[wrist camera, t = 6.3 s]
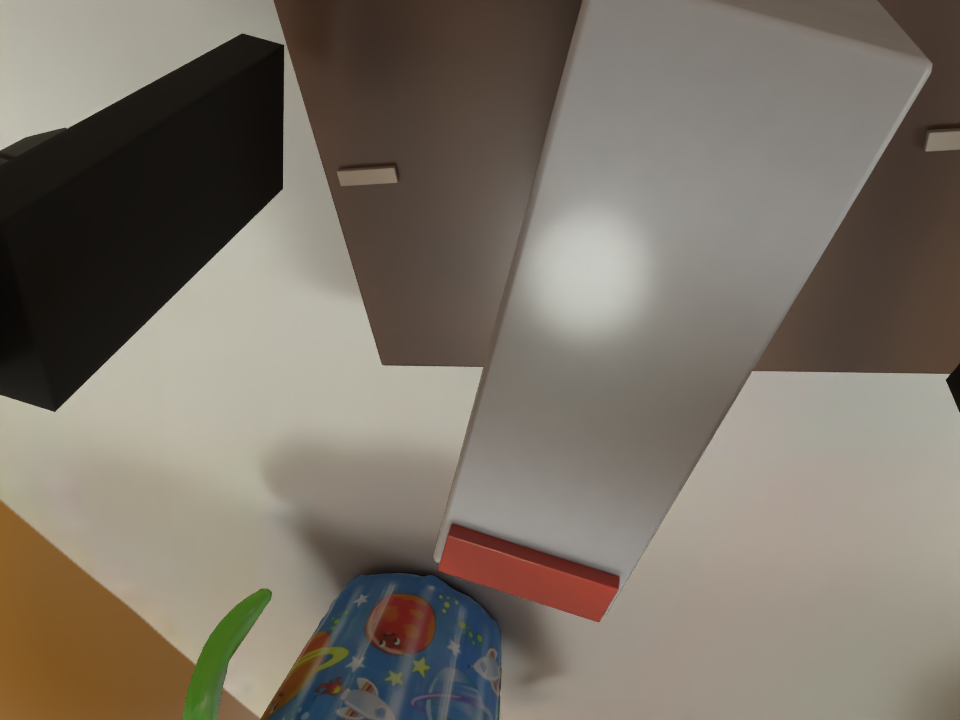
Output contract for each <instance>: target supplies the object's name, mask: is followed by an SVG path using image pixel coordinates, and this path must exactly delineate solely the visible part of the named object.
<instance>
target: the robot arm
mask: <svg viewBox="0 0 960 720" xmlns="http://www.w3.org/2000/svg"><path fill="white" fill-rule="evenodd" d="M283 111H284V45H282V44H278V43H275V42H271V41H268V40H264V39H260V38H257V37H253V36H250V35H246V34H240V35H239V36H237V37H235V38H233V39H231V40H229V41H228V42H226V43H224V44H222V45H220V46H218V47H217V48H215V49H213V50H211V51H209V52H207V53H206V54H204V55H202V56H200V57H198V58H196V59H195V60H193V61H191V62H189V63H187V64H185V65H184V66H182V67H180V68H178V69H176V70H174V71H173V72H171V73H169V74H167V75H165V76H163V77H161V78H160V79H158V80H156V81H154V82H152V83H150V84H149V85H147V86H145V87H143V88H141V89H139V90H138V91H136V92H134V93H132V94H130V95H128V96H127V97H125V98H123V99H121V100H119V101H117V102H116V103H114V104H112V105H110V106H108V107H106V108H105V109H103V110H101V111H99V112H97V113H95V114H94V115H92V116H90V117H88V118H86V119H84V120H83V121H81V122H79V123H77V124H75V125H73V126H72V127H70V128H68V129H67V128H62V129H58V130H54V131H50V132H46V133H41V134H37V135H33V136H29V137H26V138H24V139H22V140H20V141H18V142H16V143H14V144H12V145H10V146H8V147H7V148H5V149H3V150H1V151H0V395H3V396H6V397H9V398H12V399H16V400H19V401H22V402H25V403H28V404H32V405H35V406H38V407H41V408H45V409H48V410H51V411H54V412H55V411H56V410H57V409H58V408H59V407H60V406H61V405H62V404H63V403H64V402H65V401H67V400H68V399H69V398H70V397H71V396H72V395H73V394H74V393H75V392H76V391H77V390H78V389H79V388H80V387H81V386H82V385H83V384H84V383H85V382H86V381H87V380H88V379H89V378H90V377H91V376H92V375H93V374H94V373H95V372H96V371H97V370H98V369H99V368H100V367H101V366H102V365H103V364H104V363H105V362H106V361H107V360H108V359H109V358H110V357H111V356H112V355H113V354H115V353H116V352H117V351H118V350H119V349H120V348H121V347H122V346H123V345H124V344H125V343H126V342H127V341H128V340H129V339H130V338H131V337H132V336H133V335H134V334H135V333H136V332H137V331H138V330H139V329H140V328H141V327H142V326H143V325H144V324H145V323H146V322H147V321H148V320H149V319H150V318H151V317H152V316H153V315H154V314H155V313H156V312H157V311H158V310H159V309H160V308H162V307H163V306H164V305H165V304H166V303H167V302H168V301H169V300H170V299H171V298H172V297H173V296H174V295H175V294H176V293H177V292H178V291H179V290H180V289H181V288H182V287H183V286H184V285H185V284H186V283H187V282H188V281H189V280H190V279H191V278H192V277H193V276H194V275H195V274H196V273H197V272H198V271H199V270H200V269H201V268H202V267H203V266H204V265H205V264H206V263H207V262H209V261H210V260H211V259H212V258H213V257H214V256H215V255H216V254H217V253H218V252H219V251H220V250H221V249H222V248H223V247H224V246H225V245H226V244H227V243H228V242H229V241H230V240H231V239H232V238H233V237H234V236H235V235H236V234H237V233H238V232H239V231H240V230H241V229H242V228H243V227H244V226H245V225H246V224H247V223H248V222H249V221H250V220H251V219H252V218H253V217H254V216H255V215H257V214H258V213H259V212H260V211H261V210H262V209H263V208H264V207H265V206H266V205H267V204H268V203H269V202H270V201H271V200H272V199H273V198H274V197H275V196H276V195H277V194H278V193H279V192H280V191H281V190H282V189H283ZM946 381H947V384H948V386H949V388H950V391H951V393H952V395H953V398H954V400H955V402H956V405H957V407H958V409H959V412H960V363H959V365H958V366H957V367H956V368H955V369H954V371H953V372H952V373H951V374H950V375H949V377H948V378H947V379H946Z"/></svg>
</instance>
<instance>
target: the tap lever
mask: <svg viewBox="0 0 960 720" xmlns="http://www.w3.org/2000/svg"><path fill="white" fill-rule="evenodd" d="M932 65H933V64H932V63H931V61H930V60H929V59H928V58H927V57H926V56H925V55H924V53H923V52H922V51H921V50H920V49H919V48H918V47H917V45H916V44H915V43H914V42H913V41H912V40H911V39H910V37H909V36H908V35H907V34H906V33H905V32H904V30H903V29H902V28H901V27H900V26H899V25H898V24H897V22H896V21H895V20H894V19H893V18H892V17H891V16H890V14H889V13H888V12H887V11H886V10H885V9H884V8H883V6H882V5H881V4H880V3H879V2H878V1H877V0H582V3H581V7H580V11H579V14H578V18H577V22H576V26H575V29H574V33H573V37H572V40H571V44H570V48H569V52H568V55H567V59H566V63H565V66H564V70H563V74H562V78H561V81H560V85H559V89H558V92H557V96H556V100H555V104H554V107H553V111H552V115H551V118H550V122H549V126H548V130H547V133H546V137H545V141H544V145H543V148H542V152H541V156H540V159H539V163H538V167H537V171H536V174H535V178H534V182H533V185H532V189H531V193H530V197H529V200H528V204H527V208H526V211H525V215H524V219H523V223H522V226H521V230H520V234H519V237H518V241H517V245H516V249H515V252H514V256H513V260H512V264H511V267H510V271H509V275H508V278H507V282H506V286H505V290H504V293H503V297H502V301H501V304H500V308H499V312H498V316H497V319H496V323H495V327H494V330H493V334H492V338H491V342H490V345H489V349H488V353H487V356H486V360H485V364H484V368H483V371H482V375H481V379H480V383H479V386H478V390H477V394H476V397H475V401H474V405H473V409H472V412H471V416H470V420H469V423H468V427H467V431H466V435H465V438H464V442H463V446H462V449H461V453H460V457H459V461H458V464H457V468H456V472H455V476H454V479H453V483H452V487H451V490H450V494H449V498H448V502H447V505H446V509H445V513H444V516H443V520H442V524H441V528H440V531H439V535H438V539H437V542H436V546H435V550H434V554H433V558H434V561H435V562H437V563H440V564H439V567H438V571H441V572H444V573H447V574H450V575H453V576H456V577H459V578H462V579H465V580H469V581H472V582H475V583H478V584H481V585H484V586H487V587H490V588H493V589H497V590H500V591H503V592H506V593H509V594H512V595H515V596H518V597H521V598H525V599H528V600H531V601H534V602H537V603H540V604H543V605H546V606H550V607H553V608H556V609H559V610H562V611H565V612H568V613H571V614H574V615H578V616H581V617H584V618H587V619H590V620H593V621H596V622H600V620H601V618H602V617H603V615H606V614H607V612H608V611H609V609H610V608H611V606H612V604H613V603H614V601H615V599H616V598H617V596H618V594H619V593H620V591H621V589H622V588H623V586H624V584H625V583H626V581H627V579H628V578H629V576H630V574H631V573H632V571H633V569H634V568H635V566H636V564H637V563H638V561H639V559H640V558H641V556H642V554H643V553H644V551H645V549H646V548H647V546H648V544H649V543H650V541H651V539H652V538H653V536H654V534H655V533H656V531H657V529H658V528H659V526H660V524H661V523H662V521H663V519H664V518H665V516H666V514H667V512H668V511H669V509H670V507H671V506H672V504H673V502H674V501H675V499H676V497H677V496H678V494H679V492H680V491H681V489H682V487H683V486H684V484H685V482H686V481H687V479H688V477H689V476H690V474H691V472H692V471H693V469H694V467H695V466H696V464H697V462H698V461H699V459H700V457H701V456H702V454H703V452H704V451H705V449H706V447H707V446H708V444H709V442H710V441H711V439H712V437H713V436H714V434H715V432H716V431H717V429H718V427H719V426H720V424H721V422H722V421H723V419H724V417H725V416H726V414H727V412H728V411H729V409H730V407H731V406H732V404H733V402H734V401H735V399H736V397H737V396H738V394H739V392H740V391H741V389H742V387H743V386H744V384H745V382H746V381H747V379H748V377H749V376H750V374H751V372H752V371H753V369H754V367H755V366H756V364H757V362H758V361H759V359H760V357H761V356H762V354H763V352H764V351H765V349H766V347H767V346H768V344H769V342H770V341H771V339H772V337H773V336H774V334H775V332H776V331H777V329H778V327H779V326H780V324H781V322H782V321H783V319H784V317H785V316H786V314H787V312H788V311H789V309H790V307H791V306H792V304H793V302H794V301H795V299H796V297H797V296H798V294H799V292H800V291H801V289H802V287H803V286H804V284H805V282H806V281H807V279H808V277H809V276H810V274H811V272H812V271H813V269H814V267H815V266H816V264H817V262H818V261H819V259H820V257H821V256H822V254H823V252H824V251H825V249H826V247H827V246H828V244H829V242H830V241H831V239H832V237H833V236H834V234H835V232H836V231H837V229H838V227H839V226H840V224H841V222H842V221H843V219H844V217H845V216H846V214H847V212H848V211H849V209H850V207H851V206H852V204H853V202H854V201H855V199H856V197H857V196H858V194H859V192H860V191H861V189H862V187H863V186H864V184H865V182H866V181H867V179H868V177H869V176H870V174H871V172H872V171H873V169H874V167H875V166H876V164H877V162H878V161H879V159H880V157H881V156H882V154H883V152H884V151H885V149H886V147H887V146H888V144H889V142H890V141H891V139H892V137H893V136H894V134H895V132H896V131H897V129H898V127H899V126H900V124H901V122H902V121H903V119H904V117H905V116H906V114H907V112H908V111H909V109H910V107H911V106H912V104H913V102H914V101H915V99H916V97H917V96H918V94H919V92H920V91H921V89H922V87H923V86H924V84H925V82H926V81H927V79H928V77H929V76H930V74H931V71H932Z"/></svg>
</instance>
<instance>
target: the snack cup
mask: <svg viewBox="0 0 960 720" xmlns="http://www.w3.org/2000/svg"><path fill="white" fill-rule="evenodd" d="M271 597H272V592H271V591H270V590H269V589H260V590H259V591H257V592H256V593H254V594H252V595H250V596H249V597H247V598H246V599H244V600H243V601H242V602H240V603H239V604H238V605H237V606H236V607H234V608H233V609H232V610H231V611H230V612H229V613H228V614H227V615H226V616H225V617H224V618H223V619H222V620H221V622H220V623H219V624H218V626H217V627H216V628H215V630H214V631H213V632H212V634H211V635H210V637H209V639H208V640H207V642H206V644H205V645H204V647H203V650H202V652H201V654H200V657H199V659H198V661H197V664H196V667H195V670H194V673H193V675H192V679H191V683H190V685H189V688H188V692H187V697H186V702H185V708H184V713H183V720H216V719H217V713H218V709H219V706H220V702H221V695H222V689H223V684H224V681H225V676H226V673H227V667H228V663H229V660H230V659H231V657H232V656H233V654H234V653H235V651H236V650H237V648H238V647H239V645H240V644H241V642H242V641H243V639H244V638H245V636H246V635H247V634H248V632H249V631H250V629H251V628H252V626H253V625H254V623H255V622H256V620H257V619H258V617H259V616H260V614H261V613H262V611H263V610H264V608H265V606H266V605H267V604H268V603H269V601H270V600H271ZM501 671H502V670H501V630H500V628H499V626H498V623H497V620H496V619H491V618H490V616H489V615H488V613H487V612H486V611H485V610H484V609H483V607H482V606H481V605H480V604H479V603H477V602H475V601H473V600H472V599H471V598H470V597H468V596H467V595H464V594H462V593H460V592H458V591H456V590H454V589H452V588H450V587H449V586H448V585H447V584H446V583H444V582H443V581H441V580H440V579H438V578H437V577H435V576H433V575H428V576H425V577H422V576H418V575H414V574H404V573H390V574H386V573H384V574H376V575H368V576H364V575H362V574H359V575H358V576H357V577H356V578H355V579H354V580H352V581H350V582H349V583H348V584H347V585H346V587H345V588H344V589H343V591H342V592H341V593H340V595H339V596H338V597H337V598H336V599H335V600H334V601H333V602H332V604H331V606H330V609H329V611H328V613H327V614H326V615H325V617H324V618H323V619H322V620H321V621H320V624H319V626H318V628H317V629H316V630H315V632H314V633H313V635H312V637H311V638H310V640H309V641H308V643H307V644H306V646H305V647H304V649H303V650H302V652H301V654H300V655H299V657H298V659H297V660H296V662H295V664H294V665H293V667H292V668H291V670H290V672H289V673H288V675H287V677H286V678H285V680H284V681H283V683H282V685H281V686H280V688H279V690H278V691H277V693H276V694H275V696H274V698H273V699H272V701H271V702H270V704H269V706H268V707H267V709H266V711H265V712H264V714H263V716H262V717H261V719H260V720H499V712H500V689H501Z"/></svg>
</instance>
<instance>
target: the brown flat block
mask: <svg viewBox="0 0 960 720" xmlns="http://www.w3.org/2000/svg"><path fill="white" fill-rule="evenodd" d="M877 1H878V2H879V3H880V4H881V5H882V6H883V8H884V9H885V10H886V11H887V12H888V13H889V14H890V16H891V17H892V18H893V19H894V20H895V21H896V22H897V24H898V25H899V26H900V27H901V28H902V29H903V30H904V32H905V33H906V34H907V35H908V36H909V37H910V39H911V40H912V41H913V42H914V43H915V44H916V45H917V47H918V48H919V49H920V50H921V51H922V52H923V53H924V55H925V56H926V57H927V58H928V59H929V60H930V61H931V63H932V64H933V65H932V71H931V74H930V76H929V77H928V79H927V81H926V82H925V84H924V86H923V87H922V89H921V91H920V92H919V94H918V96H917V97H916V99H915V101H914V102H913V104H912V106H911V107H910V109H909V111H908V112H907V114H906V116H905V117H904V119H903V121H902V122H901V124H900V126H899V127H898V129H897V131H896V132H895V134H894V136H893V137H892V139H891V141H890V142H889V144H888V146H887V147H886V149H885V151H884V152H883V154H882V156H881V157H880V159H879V161H878V162H877V164H876V166H875V167H874V169H873V171H872V172H871V174H870V176H869V177H868V179H867V181H866V182H865V184H864V186H863V187H862V189H861V191H860V192H859V194H858V196H857V197H856V199H855V201H854V202H853V204H852V206H851V207H850V209H849V211H848V212H847V214H846V216H845V217H844V219H843V221H842V222H841V224H840V226H839V227H838V229H837V231H836V232H835V234H834V236H833V237H832V239H831V241H830V242H829V244H828V246H827V247H826V249H825V251H824V252H823V254H822V256H821V257H820V259H819V261H818V262H817V264H816V266H815V267H814V269H813V271H812V272H811V274H810V276H809V277H808V279H807V281H806V282H805V284H804V286H803V287H802V289H801V291H800V292H799V294H798V296H797V297H796V299H795V301H794V302H793V304H792V306H791V307H790V309H789V311H788V312H787V314H786V316H785V317H784V319H783V321H782V322H781V324H780V326H779V327H778V329H777V331H776V332H775V334H774V336H773V337H772V339H771V341H770V342H769V344H768V346H767V347H766V349H765V351H764V352H763V354H762V356H761V357H760V359H759V361H758V362H757V364H756V366H755V367H754V369H753V371H796V372H863V373H929V374H951V373H952V372H953V371H954V369H955V368H956V367H957V366H958V365H959V363H960V0H877ZM274 3H275V7H276V10H277V13H278V17H279V20H280V23H281V27H282V30H283V33H284V37H285V40H286V44H287V47H288V50H289V54H290V57H291V60H292V64H293V67H294V70H295V74H296V77H297V81H298V84H299V87H300V91H301V94H302V97H303V101H304V104H305V107H306V111H307V114H308V117H309V121H310V124H311V128H312V131H313V134H314V138H315V141H316V144H317V148H318V151H319V154H320V158H321V161H322V164H323V168H324V171H325V175H326V178H327V181H328V185H329V188H330V191H331V195H332V198H333V201H334V205H335V208H336V211H337V215H338V218H339V222H340V225H341V228H342V232H343V235H344V238H345V242H346V245H347V248H348V252H349V255H350V258H351V262H352V265H353V269H354V272H355V275H356V279H357V282H358V285H359V289H360V292H361V295H362V299H363V302H364V305H365V309H366V312H367V316H368V319H369V322H370V326H371V329H372V332H373V336H374V339H375V342H376V346H377V349H378V353H379V356H380V359H381V363H382V365H397V366H464V367H484V364H485V360H486V356H487V353H488V349H489V345H490V342H491V338H492V334H493V330H494V327H495V323H496V319H497V316H498V312H499V308H500V304H501V301H502V297H503V293H504V290H505V286H506V282H507V278H508V275H509V271H510V267H511V264H512V260H513V256H514V252H515V249H516V245H517V241H518V237H519V234H520V230H521V226H522V223H523V219H524V215H525V211H526V208H527V204H528V200H529V197H530V193H531V189H532V185H533V182H534V178H535V174H536V171H537V167H538V163H539V159H540V156H541V152H542V148H543V145H544V141H545V137H546V133H547V130H548V126H549V122H550V118H551V115H552V111H553V107H554V104H555V100H556V96H557V92H558V89H559V85H560V81H561V78H562V74H563V70H564V66H565V63H566V59H567V55H568V52H569V48H570V44H571V40H572V37H573V33H574V29H575V26H576V22H577V18H578V14H579V11H580V7H581V3H582V0H274Z"/></svg>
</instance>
